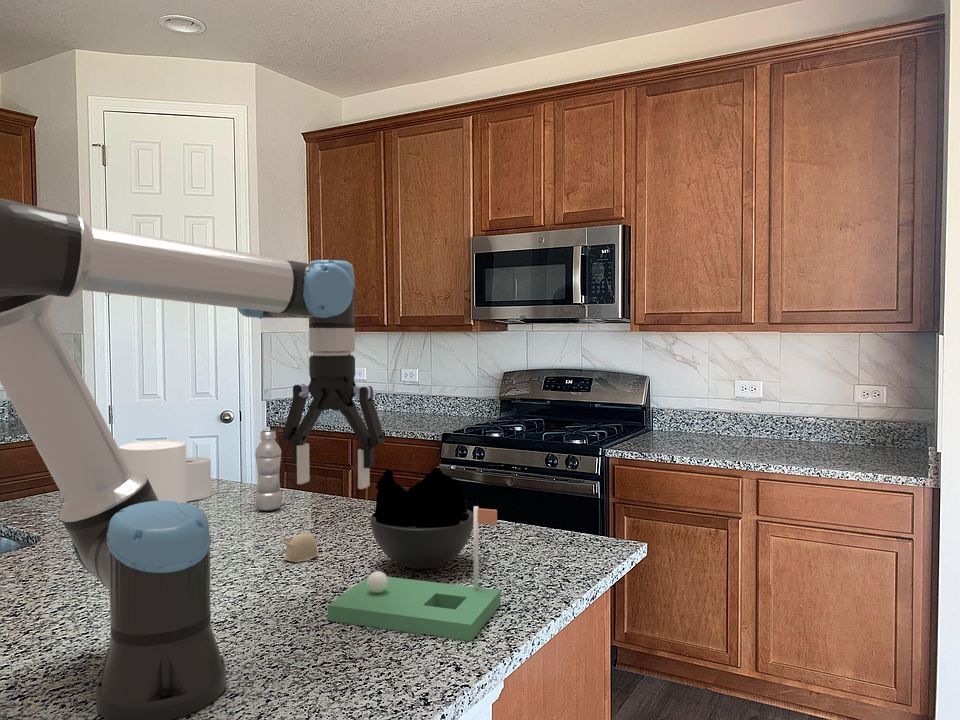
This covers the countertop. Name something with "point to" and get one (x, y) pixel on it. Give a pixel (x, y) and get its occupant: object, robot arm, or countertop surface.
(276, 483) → the plastic bottle
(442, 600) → the green
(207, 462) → the toilet tissue
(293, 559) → the decorative ornament
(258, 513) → the countertop surface
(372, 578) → the ball
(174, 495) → the canister
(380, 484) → the coal bowl
